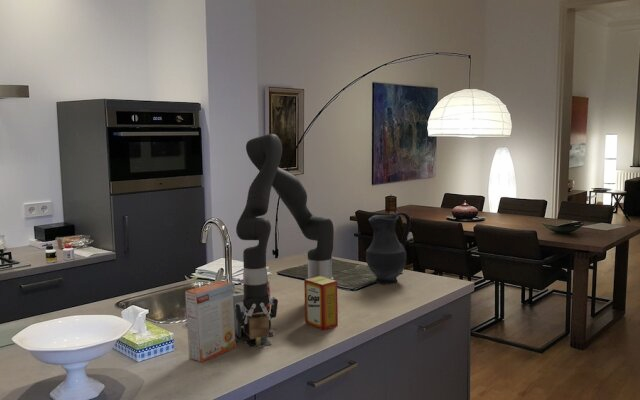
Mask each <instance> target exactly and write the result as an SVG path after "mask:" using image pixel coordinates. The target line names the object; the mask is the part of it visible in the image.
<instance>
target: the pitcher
mask: <svg viewBox="0 0 640 400" xmlns="http://www.w3.org/2000/svg"><path fill="white" fill-rule="evenodd" d="M401 215H402V216H403V217H404V218H405V221H406V225H405V230H404V232H403V234H402V237H401V240H400V241H399V238H398V236H397V232H396V225H397V224H396V223H397V222H398V219H399V216H401ZM368 222H369V223H370V226H371V227H372V229H373V235H372V241H371V244H370V245H369V247H368V248H367V249H366V250H365V259H366V264H367V266H368V269H369V270H370V272H372V273H373V274H374V276H376V278H375V280H374V282H375V283H377V284H379V285H393V284H397V283H398V282H399V280H398V279H397V278H398V276H400V275H401V274H402V272H403V271H404V269H405V268H406V267H405V266H406V265H407V251H406V248H405V246H406V244H407V243H406V242H407V239H408V237H409V233H410V231H411V225H412V221H411V217H410V215H409V214H408V213H406V212H404V211H397V212H394V213H393V214H391V215H383V214H382V215H379V214H378V215H373V216H371V217H369V218H368Z"/></svg>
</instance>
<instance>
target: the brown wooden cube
mask: <svg viewBox="0 0 640 400" xmlns="http://www.w3.org/2000/svg"><path fill="white" fill-rule="evenodd" d="M248 319H249V321H248V324H249V335H247V337H249V339H254V338H259V337H270V335H269V317H268V316H265V314H263V313H262V312H261V313H254V314H252V315H251V317H250V318H248Z"/></svg>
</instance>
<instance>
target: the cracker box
mask: <svg viewBox="0 0 640 400" xmlns="http://www.w3.org/2000/svg"><path fill="white" fill-rule="evenodd" d="M233 294H234V293H233V283H232V282H227V281H224V280H219V281H215V282H211V283H209V284H205V285H203V286H202V285H201V286H199V287H195V288H192V289H188V290H185V292H184V297H185V313H186V326H187V340H188V358H189V359H191V360H194V361H197V362H199V363H202V362H206V361H208V360H210V359H212V358H215V357H217V356H220V355H222V354H223V353H226V352H229V351H231V350H234V349H235V348H236V342H235V336H236V334H235V327H234V307H233Z"/></svg>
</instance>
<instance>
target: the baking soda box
mask: <svg viewBox="0 0 640 400" xmlns="http://www.w3.org/2000/svg"><path fill="white" fill-rule="evenodd" d="M338 309H339V306H338V280H335V279H334V280H331V279H328V278H326V277H321V276H317V277H313V278H309V279H308V278H306V279H304V319H305V320H304V321H305V322H304V323H305V324H306V325H308V326H311V327H314V328H316V329H320V330H322V331H326V330H329V329H331V328H334V327H338V326H339V323H338V322H339V321H338V320H339V319H338V318H339V317H338V315H339V313H338V312H339V311H338Z"/></svg>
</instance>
